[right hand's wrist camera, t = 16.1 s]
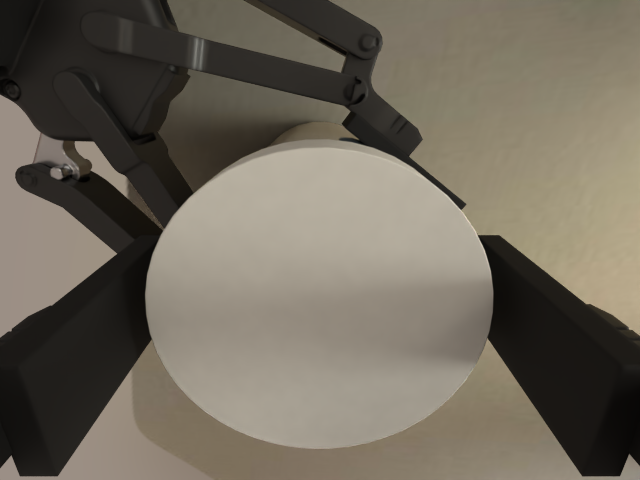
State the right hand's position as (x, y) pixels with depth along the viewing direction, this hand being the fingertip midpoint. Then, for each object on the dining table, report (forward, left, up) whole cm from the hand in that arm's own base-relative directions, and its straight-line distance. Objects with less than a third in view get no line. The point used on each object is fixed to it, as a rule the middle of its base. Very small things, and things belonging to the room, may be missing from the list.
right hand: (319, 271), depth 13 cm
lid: (0, 0, +3) cm, 3 cm away
